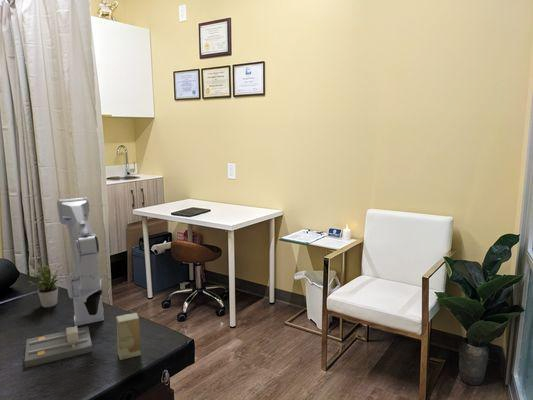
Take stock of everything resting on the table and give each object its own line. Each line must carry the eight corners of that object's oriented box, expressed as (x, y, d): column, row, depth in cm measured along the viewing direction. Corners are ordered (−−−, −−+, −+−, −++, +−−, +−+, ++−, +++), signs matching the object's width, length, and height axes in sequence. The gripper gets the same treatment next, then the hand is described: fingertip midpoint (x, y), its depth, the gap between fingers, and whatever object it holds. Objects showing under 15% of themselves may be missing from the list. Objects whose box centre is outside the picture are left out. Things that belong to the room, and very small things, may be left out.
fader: (77, 334, 133) (77, 325, 132) (78, 340, 129) (77, 331, 128) (67, 336, 131) (66, 328, 131) (67, 343, 127) (66, 334, 127)
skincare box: (119, 360, 122) (116, 322, 119) (117, 353, 125) (114, 316, 123) (142, 355, 124) (139, 317, 122) (139, 348, 128) (136, 311, 126)
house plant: (18, 306, 159) (13, 265, 156) (54, 293, 170) (50, 256, 167) (37, 315, 151) (32, 273, 148) (73, 302, 162) (69, 262, 159)
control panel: (88, 331, 139) (88, 324, 138) (92, 351, 127) (91, 343, 126) (27, 345, 131) (26, 337, 130) (25, 367, 118) (24, 359, 118)
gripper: (85, 266, 136) (89, 304, 139) (66, 282, 122) (70, 325, 124) (107, 265, 136) (110, 304, 139) (90, 282, 122) (94, 324, 125)
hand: (93, 314), depth 132 cm, fingers closed
